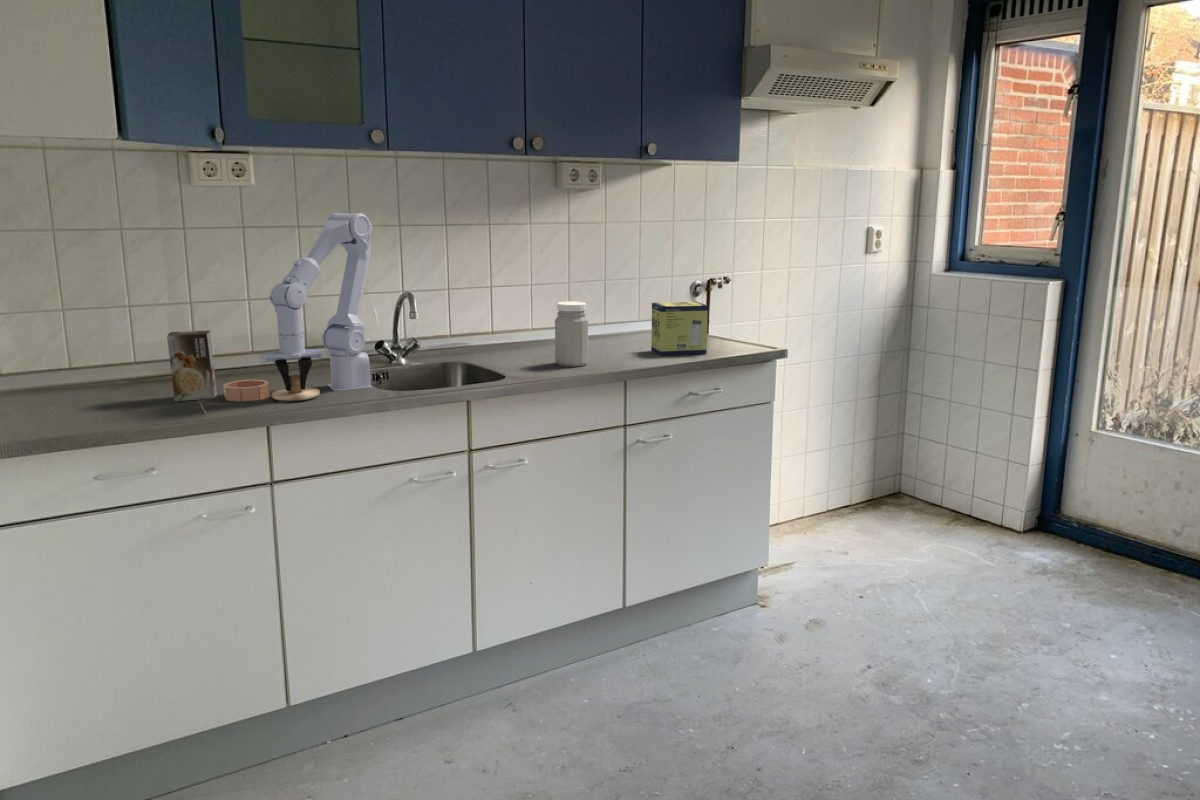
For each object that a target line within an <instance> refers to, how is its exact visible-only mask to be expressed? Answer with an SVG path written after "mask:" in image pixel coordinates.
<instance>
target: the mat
mask: <svg viewBox="0 0 1200 800" xmlns="http://www.w3.org/2000/svg"><path fill="white" fill-rule="evenodd" d="M319 400H324V398H322V396H320V395H319V396H317V397H314V398H310V399H304V400H292V401H285V400H276V401H277V403H278V404H279V405H280V404H289V403H300V402H308V401H309V402H310V401H319Z"/></svg>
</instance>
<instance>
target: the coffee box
mask: <svg viewBox="0 0 1200 800" xmlns="http://www.w3.org/2000/svg"><path fill="white" fill-rule="evenodd" d="M166 339H167V340H166V341H167V347H168V357H169V364H170V373H171V382H172V389H173V399H174V402H181V401H182V402H183V401H198V400H199V401H200V400H202V399H215V398H216V396H217V394H218V393H217V392H218V391H217V386H216V374H215V368H214V358H213V349H212V340H211V339H212V338H211V330H189V331H188V330H185V331H170V332H169V333H168V334H167V336H166Z"/></svg>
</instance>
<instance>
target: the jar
mask: <svg viewBox="0 0 1200 800" xmlns="http://www.w3.org/2000/svg"><path fill="white" fill-rule="evenodd" d="M556 305H557V306H556V308H557V309H556V310H558V311H557V316H556V318H555V319H554V353H555V355H554V360H555V363H556V364H557V365H558V366H560V367H567V368H568V367H569V368H570V367H571V368H573V367H574V368H575V367H576V368H577V367H582V366H585V365H586V364H587V363H588V361H589V318H588V317H587V315H586V314H587V312H586V309H587V303H586V302H583V301H572V300H571V301H570V300H569V301H559V302H558V303H556Z"/></svg>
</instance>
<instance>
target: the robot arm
mask: <svg viewBox="0 0 1200 800" xmlns="http://www.w3.org/2000/svg"><path fill="white" fill-rule="evenodd" d="M373 228H374V227H373V224H372V223H371V222H370V219H369V218H368V216H367V215H366V214H364V213H361V212H357V213H344V212H343V213H341V212H332V213H331V214H329V216H328V218H327V220H326V221H325V222H323V230H322V231H321V232H320V235H319V236H318V238H317V240H316V241H315V243H314V245H313V246H312V248H311V249H310V251H309V253H308V254H307V256H306V257H301V258H298V259H297V260H295V261H294V262H293V263H292V264H293V266H292V268H291V270H290V271H289V272H288V273H287V275H286V276H284V277H283V279H282V281H281V282H279V283H277V284H275V285H274V287H272V289H271V292H270V295H269V296H268V297H269V300H270V303H271V304H272V305H273V307H274V313H276V321H277V332H278V333H277V334H278V346H279V348H278V349H279V351H274V352H267V353H260V354H259V358H260V363H261V364H267V363H273V362H274V365H275V366H276V368H277V370H278V372H279V373H280V376H281V379H282V381H283V383H284V387H285V388H284V389H286V390H287V391H290V382H289V376H290V375H289V374H290V371H289V369H290V367H289V363H288V361H297V364H298V369H299V375H301V388H302V390H304V389H305V387H306V384H307V383H306V382H307V379H308V374H309V372H310V370H311V367H312V365H313V360H312V359H325V358H326V357H325V356H326V355H325V349H327V354H329V363H330V377H331V383H329V384H328V383H327V386H328V387H329V388H330V389H331V390H332V391H334V392H337V391H348V390H357V389H358V390H359V389H369V388H370V389H371V388H372V387H373V386H372V384H371V383H372V382H371V365H370V364H371V363H370V358H369V355H368V353H367V352H364V351H363V352H362V350H363V349H364V347H365V344H366V343H365V342H366V337H365V330H366V328H365V323H363V322H362V321H361V319H360V317H359V316H360V311H361V307H362V301H363V295H364V291H365V285H366V280H367V273H368V270H369V263H370V259H371V254H372V244H371V237H372V233H373ZM338 244H339V245H341V246H342V247H343V248H344V250H345V251H346V253H347V257H346V262H345V267H344V272H343V277H342V283H341V287H340V294H339V299H338V303H337V308H336V313H335V314H334V315H333V316H331V317H330V319H328V321H327V325H326V328H325V329H324V331H323V333H322V335H321V336H322V338H321V341H322V344H323V346H324V348H325V349H323V348H318V349H316V348H315V349H314V348H313V349H306V348H305V345H306V344H305V335H304V321H303V320H304V319H303V310H302V309H303V308H302V306H304V305H305V304H306V302H307V300H308V299H307V297H308V292H309V289H310V288H311V286H312V285H313V284H314V282H315V280H316V279H317V278H318V276H319V275H320V272H321V270H320V265H321V264H322V263H323V262H324V261H325V259H326V258H327V256H328V255H330V253H331V252H332V251H333V250H334V249H335V247H336V246H337V245H338Z"/></svg>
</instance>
